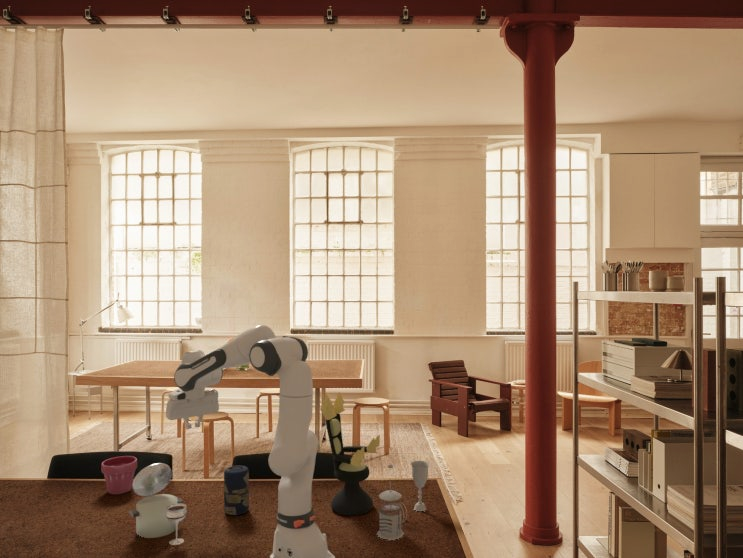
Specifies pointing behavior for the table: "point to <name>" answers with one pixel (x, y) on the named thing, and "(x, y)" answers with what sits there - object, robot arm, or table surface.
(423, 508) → the chalice
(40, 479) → the table surface
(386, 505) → the french press
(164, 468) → the lid
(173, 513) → the wineglass
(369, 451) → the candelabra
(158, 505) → the pot
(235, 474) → the canister
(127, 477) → the plant pot
